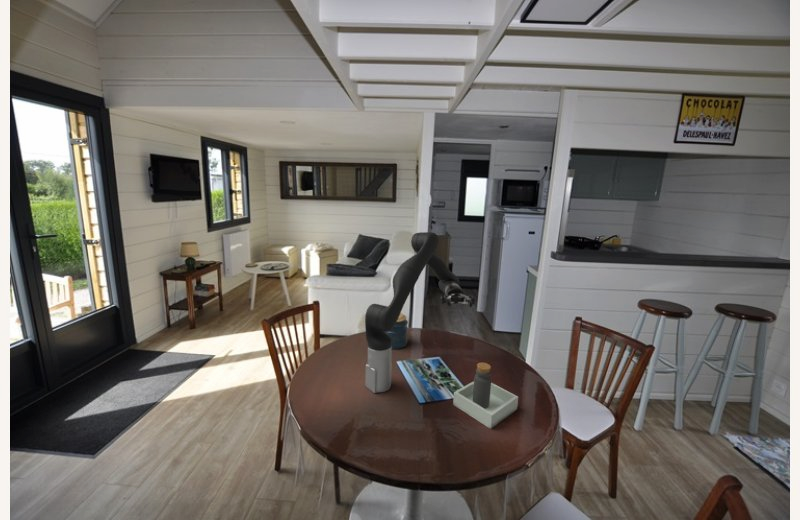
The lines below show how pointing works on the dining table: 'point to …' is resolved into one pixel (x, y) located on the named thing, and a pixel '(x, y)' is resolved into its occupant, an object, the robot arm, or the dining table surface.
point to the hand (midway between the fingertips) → (460, 304)
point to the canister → (399, 333)
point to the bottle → (482, 385)
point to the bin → (498, 407)
